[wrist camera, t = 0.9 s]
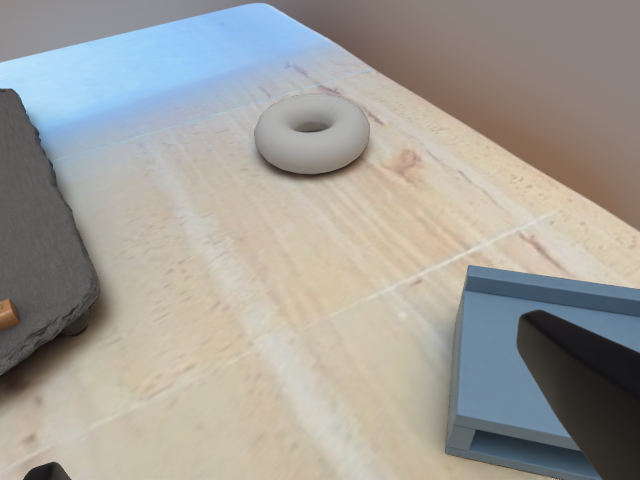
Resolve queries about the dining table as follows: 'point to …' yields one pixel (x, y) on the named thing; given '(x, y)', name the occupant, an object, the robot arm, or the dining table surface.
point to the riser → (523, 368)
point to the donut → (312, 148)
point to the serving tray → (36, 245)
